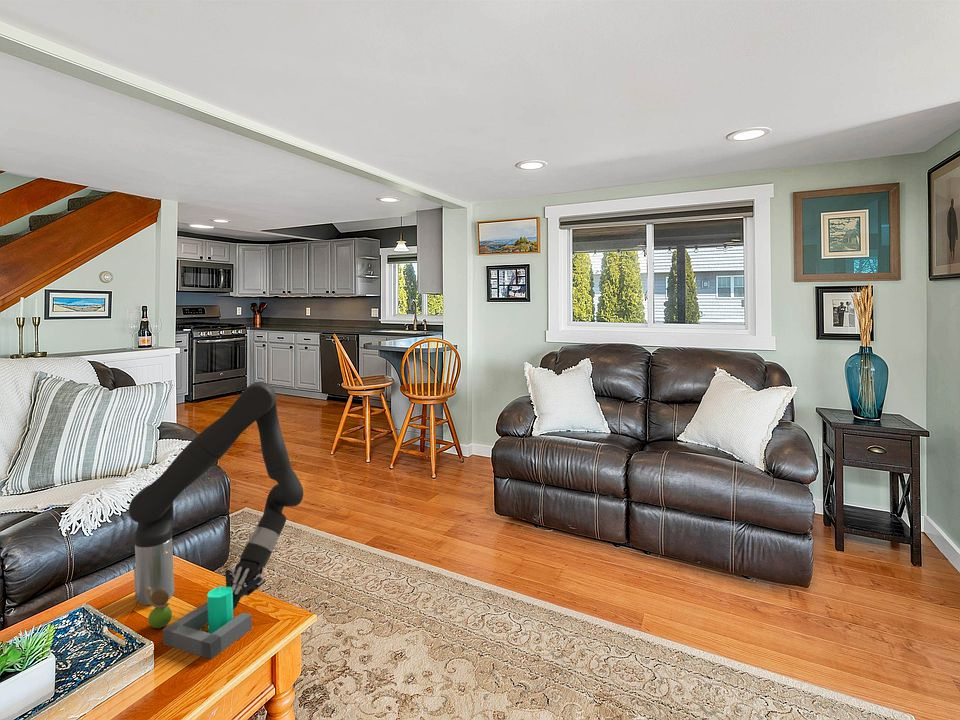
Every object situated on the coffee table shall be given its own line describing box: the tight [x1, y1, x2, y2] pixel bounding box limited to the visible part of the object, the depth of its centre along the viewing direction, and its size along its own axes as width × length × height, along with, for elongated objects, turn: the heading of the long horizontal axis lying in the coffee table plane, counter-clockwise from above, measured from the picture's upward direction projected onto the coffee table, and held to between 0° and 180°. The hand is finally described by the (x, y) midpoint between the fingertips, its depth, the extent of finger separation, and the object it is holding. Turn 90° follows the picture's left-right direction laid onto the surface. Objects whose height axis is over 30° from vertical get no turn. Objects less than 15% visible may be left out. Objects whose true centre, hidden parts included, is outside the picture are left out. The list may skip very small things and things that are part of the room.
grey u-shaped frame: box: [162, 602, 253, 660], centre depth 133 cm, size 16×13×4 cm
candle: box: [206, 585, 234, 634], centre depth 136 cm, size 6×6×12 cm
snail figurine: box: [144, 582, 173, 629], centre depth 137 cm, size 5×6×12 cm
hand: (228, 609), depth 139 cm, fingers closed
